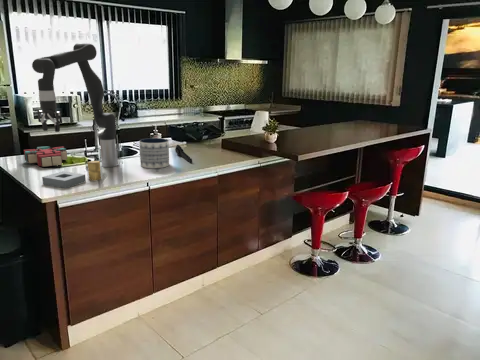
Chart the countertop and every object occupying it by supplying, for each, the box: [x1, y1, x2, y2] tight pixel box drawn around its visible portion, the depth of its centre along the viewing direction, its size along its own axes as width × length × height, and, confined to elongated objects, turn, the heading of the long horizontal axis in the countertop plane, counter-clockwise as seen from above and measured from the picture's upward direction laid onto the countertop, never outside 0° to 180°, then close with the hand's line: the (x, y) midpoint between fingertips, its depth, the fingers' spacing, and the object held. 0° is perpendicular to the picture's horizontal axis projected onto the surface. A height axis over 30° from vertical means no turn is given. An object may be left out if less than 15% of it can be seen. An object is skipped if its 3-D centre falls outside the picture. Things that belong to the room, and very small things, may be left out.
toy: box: [23, 146, 68, 168], centre depth 253 cm, size 24×9×30 cm
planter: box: [138, 137, 170, 169], centre depth 251 cm, size 18×18×16 cm
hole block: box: [41, 170, 87, 189], centre depth 210 cm, size 14×16×4 cm
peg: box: [87, 160, 102, 182], centre depth 217 cm, size 4×4×10 cm
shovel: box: [174, 144, 193, 164], centre depth 275 cm, size 35×4×8 cm, turn 25°
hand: (51, 131), depth 204 cm, fingers open, 8 cm apart
